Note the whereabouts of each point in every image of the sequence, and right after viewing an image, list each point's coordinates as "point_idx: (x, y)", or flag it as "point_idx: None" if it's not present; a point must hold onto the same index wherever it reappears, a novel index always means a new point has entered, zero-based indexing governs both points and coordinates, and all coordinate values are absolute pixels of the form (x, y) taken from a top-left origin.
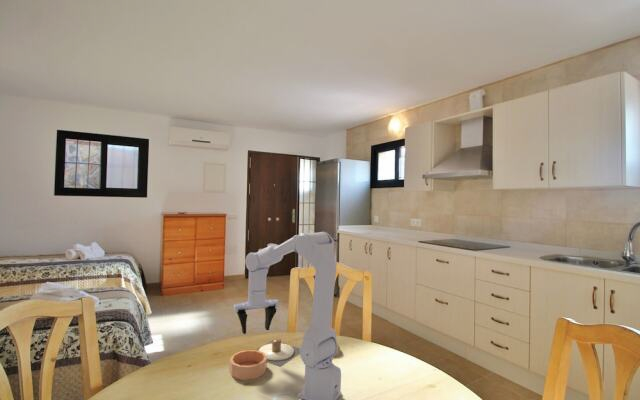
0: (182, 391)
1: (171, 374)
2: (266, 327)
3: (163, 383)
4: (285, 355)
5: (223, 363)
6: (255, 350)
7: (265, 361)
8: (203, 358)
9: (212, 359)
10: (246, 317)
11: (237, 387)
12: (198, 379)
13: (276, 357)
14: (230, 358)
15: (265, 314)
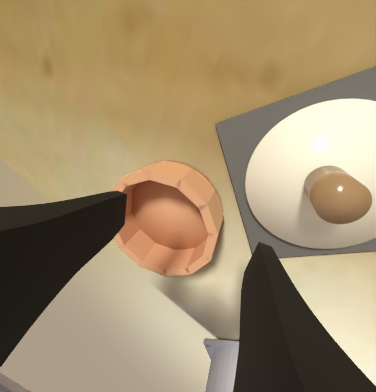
0: (39, 182)
1: (12, 92)
2: (247, 273)
3: (4, 126)
4: (317, 237)
5: (132, 122)
6: (202, 202)
7: (191, 273)
8: (85, 38)
9: (109, 68)
10: (25, 327)
11: None
12: (65, 160)
13: (279, 225)
14: None
15: (277, 319)
